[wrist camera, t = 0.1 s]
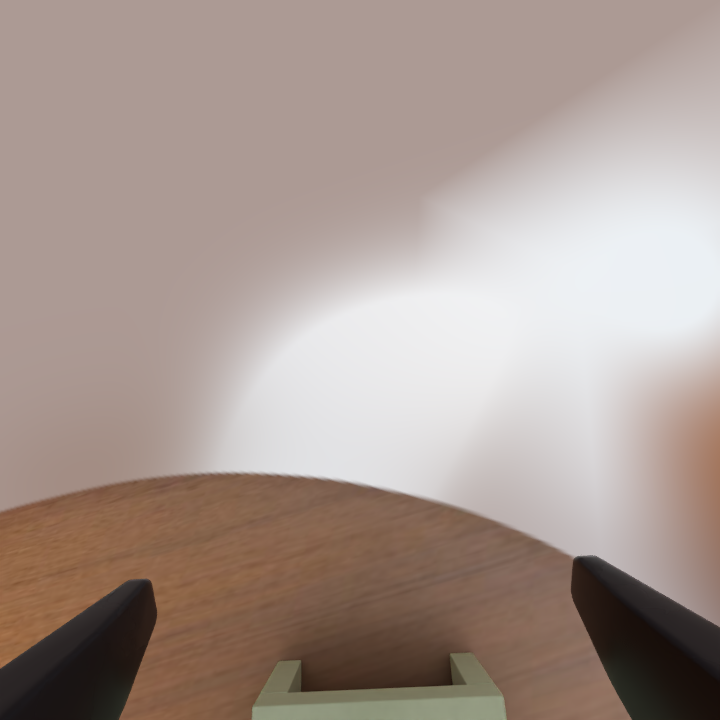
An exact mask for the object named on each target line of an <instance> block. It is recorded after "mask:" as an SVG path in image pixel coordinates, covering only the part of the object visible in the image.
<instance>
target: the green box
mask: <svg viewBox="0 0 720 720" xmlns="http://www.w3.org/2000/svg"><path fill="white" fill-rule="evenodd" d="M450 664H451V674H452V683H453V685H451V686H428V687H406V688H384V689H361V690H339V691H316V692H301V660H291V661H278V663H277V665H276V666H275V668H274V670H273V672H272V673H271V675H270V677H269V679H268V680H267V682H266V684H265V686H264V687H263V689H262V691H261V693H260V695H259V696H258V698H257V700H256V702H255V703H254V705H253V707H252V720H507V717H506V710H505V702H504V696H503V695H502V693H501V692H500V690H499V689H498V688H497V686H496V685H495V684H494V682H493V681H492V679H491V678H490V676H489V675H488V674H487V672H486V671H485V669H484V668H483V667H482V665H481V664H480V663H479V661H478V660H477V658H476V657H475V656H474V654H473V653H451V654H450Z"/></svg>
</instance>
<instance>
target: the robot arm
mask: <svg viewBox="0 0 720 720" xmlns="http://www.w3.org/2000/svg"><path fill="white" fill-rule="evenodd" d="M571 594H572V598H573V601H574V603H575V606H576V608H577V610H578V612H579V614H580V617H581V619H582V621H583V623H584V625H585V627H586V630H587V632H588V634H589V636H590V638H591V640H592V643H593V645H594V647H595V649H596V651H597V653H598V656H599V658H600V660H601V662H602V664H603V666H604V669H605V671H606V673H607V675H608V677H609V679H610V681H611V683H612V685H613V687H614V688H615V690H616V692H617V694H618V696H619V698H620V699H621V701H622V703H623V705H624V706H625V708H626V710H627V712H628V713H629V715H630V717H631V719H632V720H720V627H718V626H717V625H715V624H713V623H712V622H710V621H708V620H706V619H705V618H703V617H701V616H699V615H697V614H696V613H694V612H692V611H691V610H689V609H687V608H685V607H684V606H682V605H680V604H679V603H677V602H675V601H673V600H672V599H670V598H668V597H666V596H665V595H663V594H661V593H659V592H658V591H656V590H654V589H653V588H651V587H649V586H647V585H646V584H644V583H642V582H640V581H639V580H637V579H635V578H633V577H632V576H630V575H628V574H627V573H625V572H623V571H621V570H619V569H618V568H616V567H614V566H613V565H611V564H609V563H607V562H606V561H604V560H602V559H600V558H599V557H597V556H593V555H589V556H577V557H575V558H574V560H573V568H572V581H571ZM156 619H157V608H156V603H155V598H154V592H153V587H152V583H151V581H150V580H148V579H132V580H128V581H127V582H125V583H124V584H122V585H121V586H119V587H118V588H116V589H115V590H113V591H112V592H111V593H109V594H108V595H106V596H105V597H103V598H102V599H100V600H99V601H98V602H96V603H95V604H93V605H92V606H90V607H89V608H87V609H86V610H85V611H83V612H82V613H80V614H79V615H77V616H76V617H74V618H73V619H72V620H70V621H69V622H67V623H66V624H64V625H63V626H61V627H60V628H59V629H57V630H56V631H54V632H53V633H51V634H50V635H48V636H47V637H46V638H44V639H43V640H41V641H40V642H38V643H37V644H35V645H34V646H33V647H31V648H30V649H28V650H27V651H25V652H24V653H22V654H21V655H20V656H18V657H17V658H15V659H14V660H12V661H11V662H9V663H8V664H7V665H5V666H4V667H2V668H1V669H0V720H119V717H120V715H121V713H122V711H123V709H124V706H125V704H126V701H127V699H128V696H129V694H130V691H131V688H132V685H133V683H134V680H135V677H136V675H137V672H138V669H139V667H140V664H141V661H142V658H143V656H144V653H145V650H146V648H147V645H148V642H149V640H150V637H151V634H152V631H153V629H154V626H155V623H156Z"/></svg>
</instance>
